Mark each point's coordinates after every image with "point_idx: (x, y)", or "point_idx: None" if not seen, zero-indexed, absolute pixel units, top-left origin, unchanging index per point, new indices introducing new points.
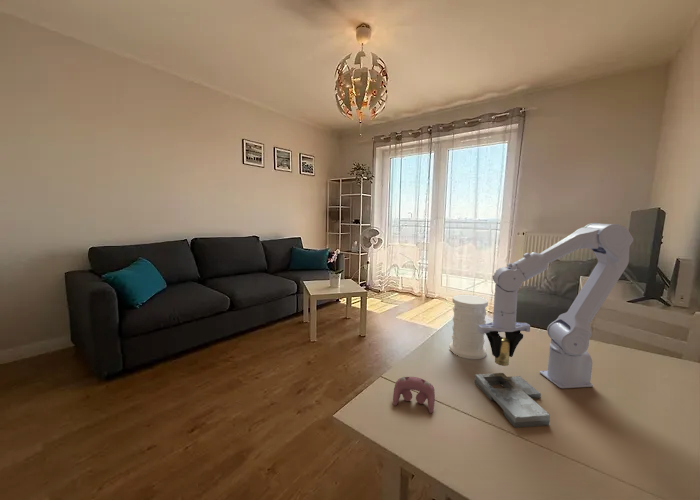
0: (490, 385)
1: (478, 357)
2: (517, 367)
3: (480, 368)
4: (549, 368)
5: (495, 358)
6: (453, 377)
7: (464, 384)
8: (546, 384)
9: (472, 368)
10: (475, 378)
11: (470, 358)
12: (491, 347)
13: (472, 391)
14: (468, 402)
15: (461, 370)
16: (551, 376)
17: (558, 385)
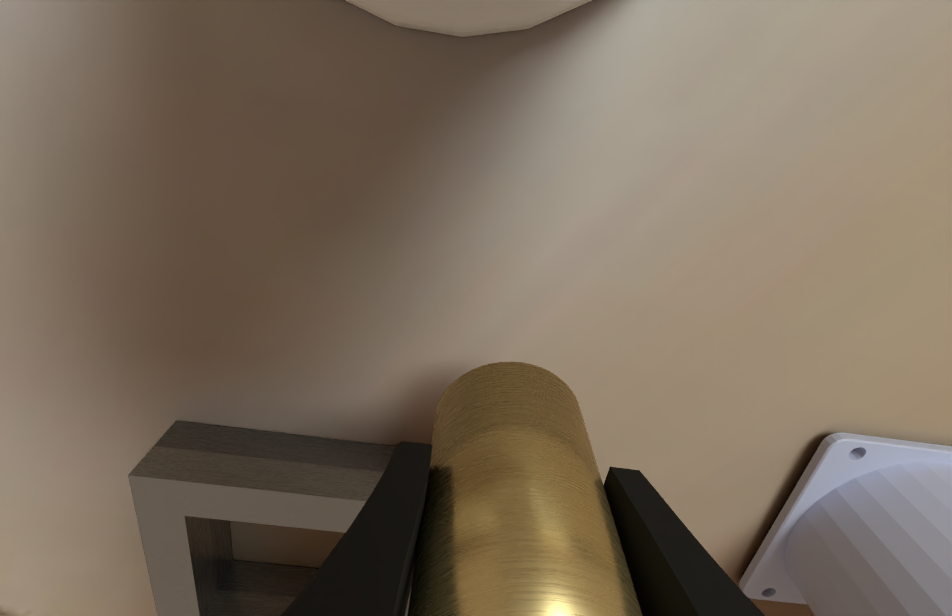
0: (191, 600)
1: (460, 35)
2: (742, 315)
3: (353, 243)
4: (857, 578)
5: (432, 438)
6: (2, 319)
7: (79, 420)
8: (703, 535)
9: (264, 223)
10: (150, 457)
11: (351, 3)
12: (361, 524)
13: (114, 493)
14: (47, 562)
15: (123, 230)
16: (803, 549)
17: (746, 584)
